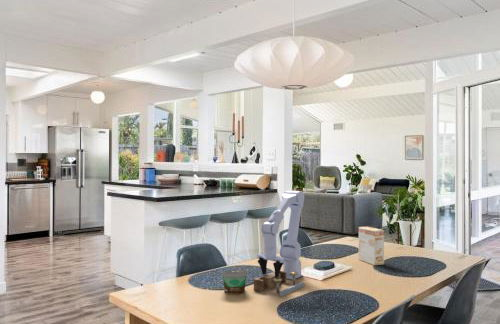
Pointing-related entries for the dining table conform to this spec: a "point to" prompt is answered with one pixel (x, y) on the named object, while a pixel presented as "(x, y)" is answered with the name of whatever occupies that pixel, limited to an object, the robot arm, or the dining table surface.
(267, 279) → the wooden notched bar
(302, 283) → the back rail
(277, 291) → the keyhole posts
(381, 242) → the coffeecake box
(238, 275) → the food container
